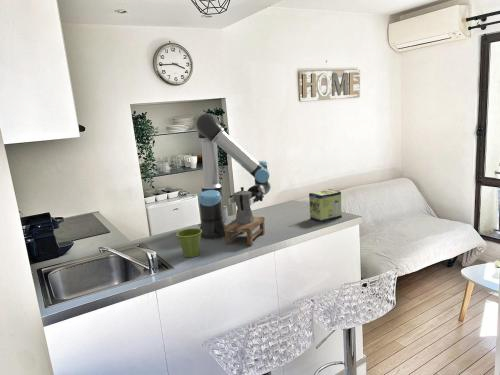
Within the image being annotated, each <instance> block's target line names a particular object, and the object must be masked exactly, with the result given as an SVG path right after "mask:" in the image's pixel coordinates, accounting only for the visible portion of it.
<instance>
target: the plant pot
mask: <svg viewBox="0 0 500 375" xmlns="http://www.w3.org/2000/svg"><path fill="white" fill-rule="evenodd" d="M201 232H202V230H201V229H200V228H195V227H194V228H191V227H190V228H186V229H185V228H184V229H182V230H180V231H177V233H176V235H175V236H177V238H178V241H179V243H180V247H181V249H182V253H183V256H184V258H193V257H198V256H199V255H200V253H201V251H200V250H201V238H202V237H201Z"/></svg>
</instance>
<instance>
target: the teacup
mask: <svg viewBox="0 0 500 375" xmlns="http://www.w3.org/2000/svg"><path fill="white" fill-rule="evenodd" d="M228 212H229V211H228V206H226V205H223V206H222V216H223V221H224V222H225V221H226V220H228V217H229V213H228Z"/></svg>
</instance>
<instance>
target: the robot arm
mask: <svg viewBox="0 0 500 375" xmlns="http://www.w3.org/2000/svg"><path fill="white" fill-rule="evenodd" d="M195 129H196V130H197V134H198V140H199V141H200V142H201V154H202V155H201V156H202V157H201V158H202V173H203V174H202V175H203V176H202V177H203V184H202V185H201V187H200V188H201V192H200V193H199V194H198V204H199V211H200V212H199V213H200V221H201V222H200V226H199V229H201V230H202V232H201V237H200V238H202V239H217V238H222V237H224V236H225V231H224V227H225V226H226V223H225V221H223V216H222V207H223V206H222V205H223V202H224V195H223V185H222V184H221V183H220V175H219V174H220V172H219V156H218V154H219V153H218V146H219V148H220V149H222V150H223V151H224V152H225V153H226V154H227V155H228V156H229V157H231V158H232V159H233V160H234V161H235V162H236V163H238V164H239V166H240V167H242V168H243V169H244V170H245V171H247V172H248V173H249V174H250V175H251V176H252V177H253V178H254V185H252V186H250V187H249V188H248V189H247V191H250V192H252V198H251V199H249V201H250V206H251V205H254V204H255V203H257V202H263V198H264V197H265V195H267V194H268V193H269V192H270V191H271V183H270V182H269V179H270V172H269V170H268V163H267V161H266V160H256V159H255V157H253V156H252V155H251V154H250V152H248V151H247V150H246V149H244V148H243V146H241V145H240V144H239V143H238V142H236V140H234V139H233V138H232V137H231V136H230V135H229V134H228V133H227V132H226V131H225V128H224V126H222V125H221V124H220V120H219V119H218V116H216V115H215V114H213V113H209V112H207V113H202V114H200V115H199V116H198V117H197V118H196V121H195ZM234 203H235V198H234V194H231V195H229V198H228V205H232V204H234Z"/></svg>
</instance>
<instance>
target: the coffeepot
mask: <svg viewBox="0 0 500 375" xmlns="http://www.w3.org/2000/svg"><path fill="white" fill-rule="evenodd" d="M232 195H234V198H235V202H234V203H235V206H236V207H237V208H236V215H235V219H236V222H237V223H238V224H248V223H252V222H253V221H254V219H253V217H254V215H253V212H252V209H251V205H250V201H249V199H251V198H252V192H250V191H248V190H244V186H241V187H240V190H239V191H236V192H234V193H232Z"/></svg>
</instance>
